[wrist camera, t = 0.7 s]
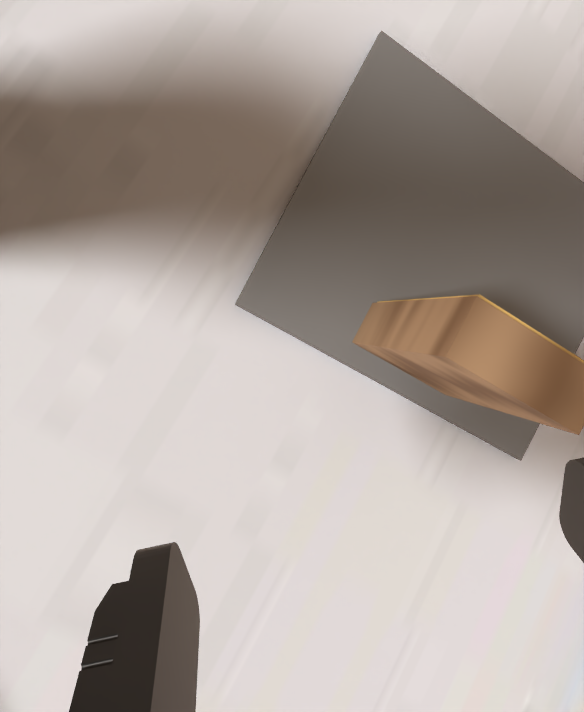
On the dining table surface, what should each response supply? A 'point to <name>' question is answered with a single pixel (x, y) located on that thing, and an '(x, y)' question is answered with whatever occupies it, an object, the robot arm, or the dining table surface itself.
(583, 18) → the dining table surface
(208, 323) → the dining table surface
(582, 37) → the dining table surface
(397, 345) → the walnut sign block
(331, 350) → the rubber mat
